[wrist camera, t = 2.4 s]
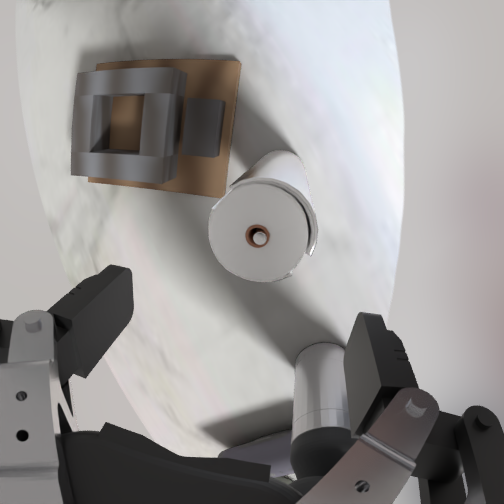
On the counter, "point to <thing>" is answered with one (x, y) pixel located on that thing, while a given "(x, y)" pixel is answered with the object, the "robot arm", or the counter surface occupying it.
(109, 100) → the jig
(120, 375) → the counter surface
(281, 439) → the bluetooth speaker
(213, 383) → the counter surface
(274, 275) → the paper towel roll
